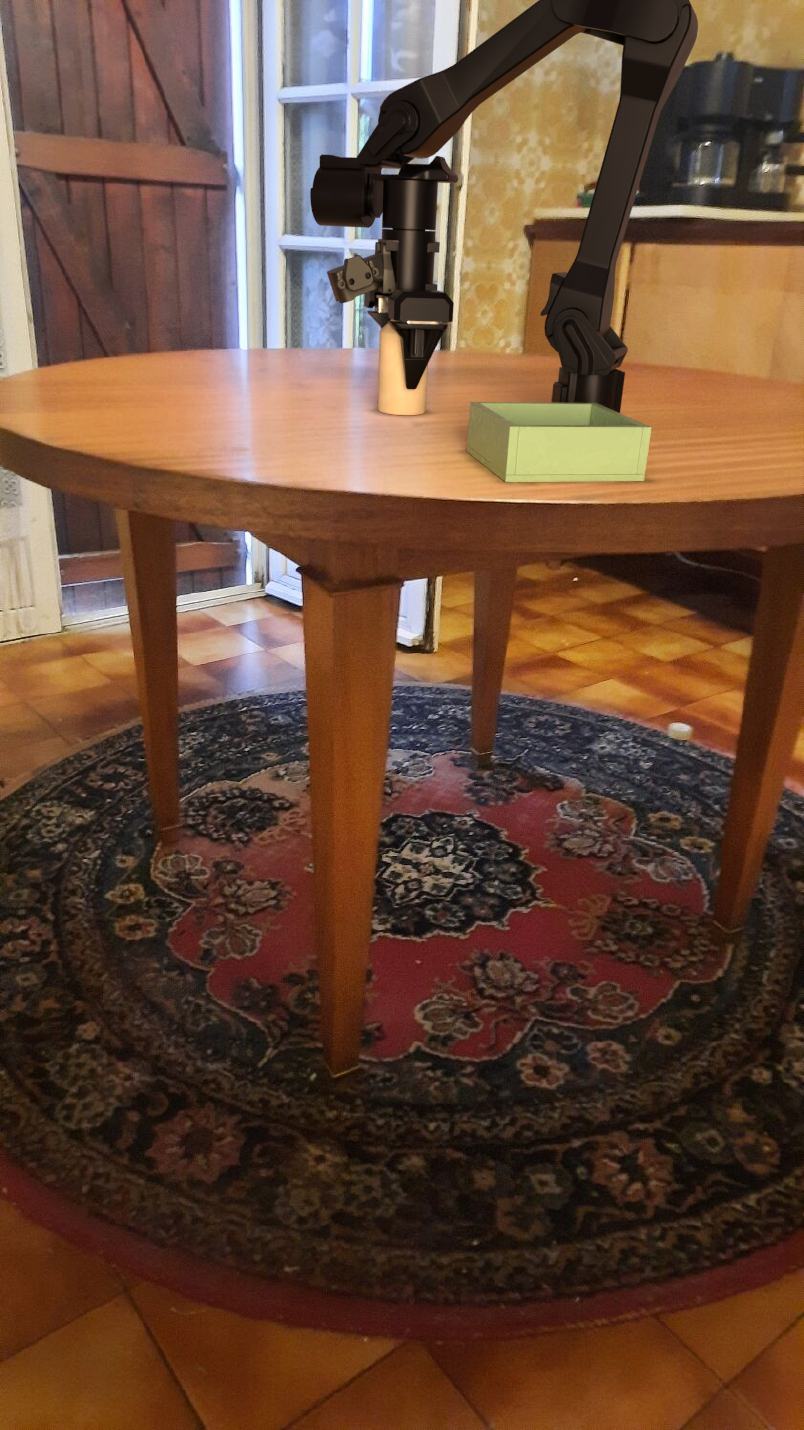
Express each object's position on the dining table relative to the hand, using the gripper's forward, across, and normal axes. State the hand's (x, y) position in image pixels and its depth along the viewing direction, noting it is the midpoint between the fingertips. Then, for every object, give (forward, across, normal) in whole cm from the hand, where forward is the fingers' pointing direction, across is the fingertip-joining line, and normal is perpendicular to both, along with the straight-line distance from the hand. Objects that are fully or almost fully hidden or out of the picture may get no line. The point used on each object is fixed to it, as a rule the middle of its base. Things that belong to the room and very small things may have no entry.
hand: (402, 383), depth 115 cm
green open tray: (+3, +28, +8) cm, 30 cm away
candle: (+3, 0, 0) cm, 3 cm away
